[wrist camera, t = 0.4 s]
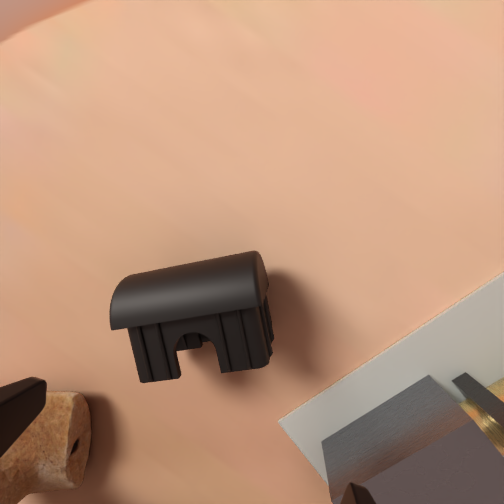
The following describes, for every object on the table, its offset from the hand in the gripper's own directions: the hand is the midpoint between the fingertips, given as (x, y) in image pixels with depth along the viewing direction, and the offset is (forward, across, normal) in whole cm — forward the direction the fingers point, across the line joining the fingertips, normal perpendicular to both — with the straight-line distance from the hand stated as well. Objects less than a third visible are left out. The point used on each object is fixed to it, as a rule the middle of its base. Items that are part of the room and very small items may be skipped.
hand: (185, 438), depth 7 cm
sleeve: (+13, -14, +10) cm, 22 cm away
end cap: (+15, +3, +2) cm, 15 cm away
